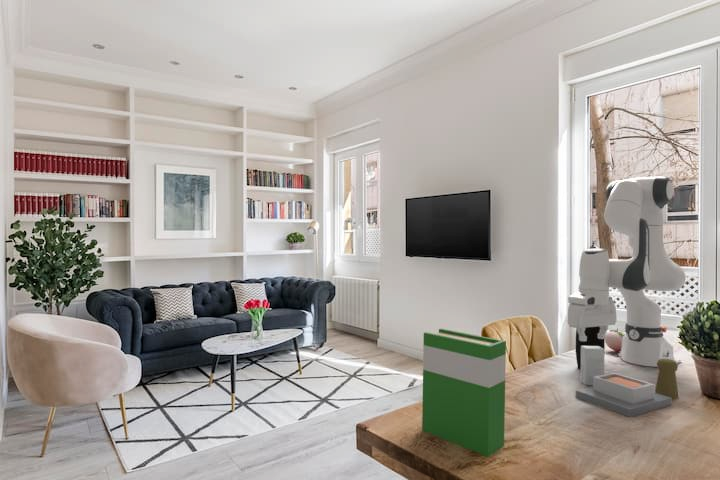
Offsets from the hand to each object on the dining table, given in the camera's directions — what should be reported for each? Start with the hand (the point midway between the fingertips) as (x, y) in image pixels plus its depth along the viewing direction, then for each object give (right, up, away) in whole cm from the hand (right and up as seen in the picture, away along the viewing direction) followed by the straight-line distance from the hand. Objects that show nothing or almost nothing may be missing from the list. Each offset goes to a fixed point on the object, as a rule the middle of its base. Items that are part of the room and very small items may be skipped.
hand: (592, 339), depth 144 cm
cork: (+18, -15, -10) cm, 25 cm away
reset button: (+1, -11, -15) cm, 19 cm away
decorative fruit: (+31, -15, +40) cm, 53 cm away
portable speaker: (+7, -15, +15) cm, 22 cm away
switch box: (+1, -15, -15) cm, 21 cm away
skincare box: (0, -15, 0) cm, 15 cm away
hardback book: (-52, -14, -40) cm, 67 cm away
